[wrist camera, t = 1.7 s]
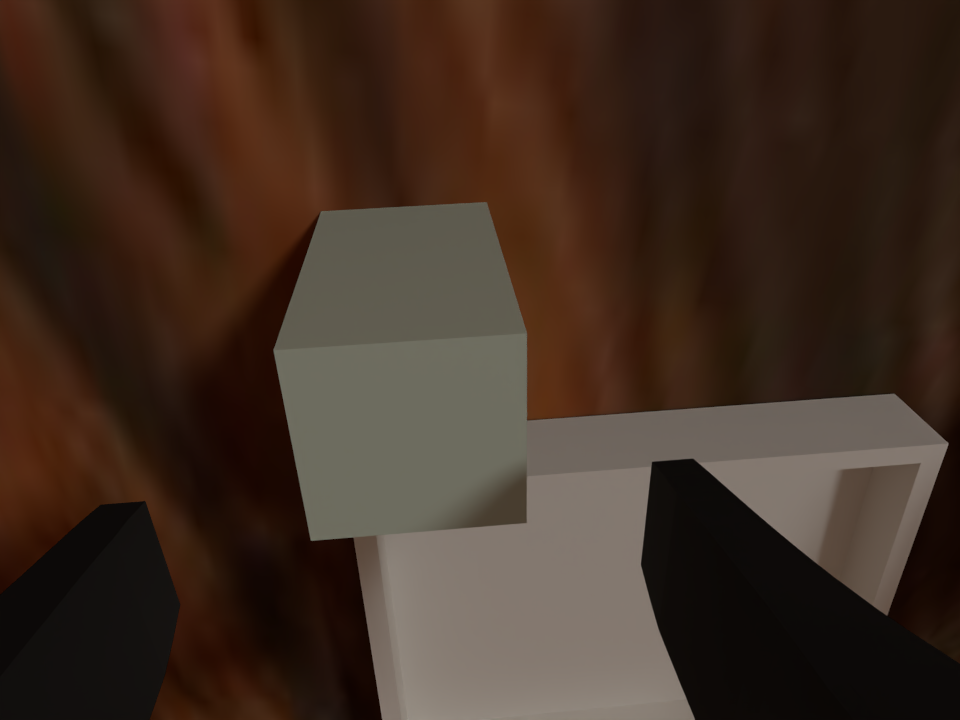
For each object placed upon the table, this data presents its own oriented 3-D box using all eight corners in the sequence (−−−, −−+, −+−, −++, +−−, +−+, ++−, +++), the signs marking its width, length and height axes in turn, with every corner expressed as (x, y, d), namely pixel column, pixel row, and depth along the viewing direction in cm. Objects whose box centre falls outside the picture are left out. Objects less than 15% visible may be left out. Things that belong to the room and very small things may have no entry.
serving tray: (894, 393, 21) (948, 443, 19) (809, 678, 28) (842, 739, 26) (352, 433, 21) (346, 490, 18) (394, 717, 27) (392, 784, 25)
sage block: (486, 202, 18) (526, 333, 12) (490, 345, 20) (526, 523, 14) (320, 211, 17) (273, 350, 11) (342, 356, 19) (310, 540, 13)
